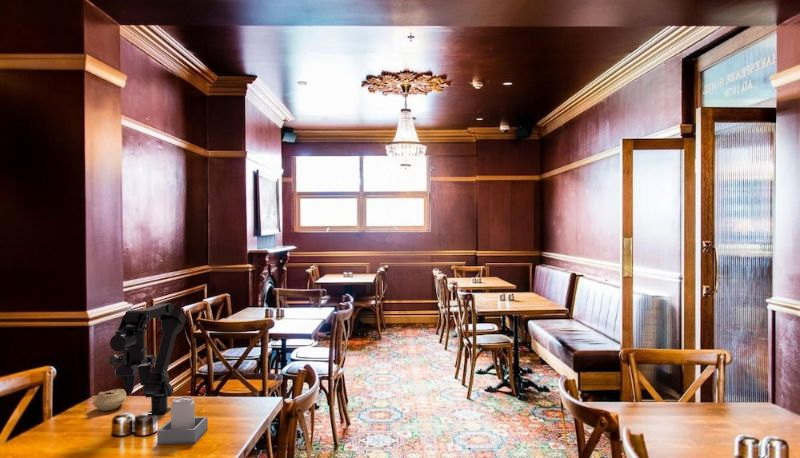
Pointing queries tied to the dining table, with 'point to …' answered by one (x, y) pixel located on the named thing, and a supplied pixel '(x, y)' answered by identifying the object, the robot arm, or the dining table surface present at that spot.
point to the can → (183, 413)
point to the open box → (182, 433)
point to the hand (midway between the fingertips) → (136, 389)
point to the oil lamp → (109, 399)
